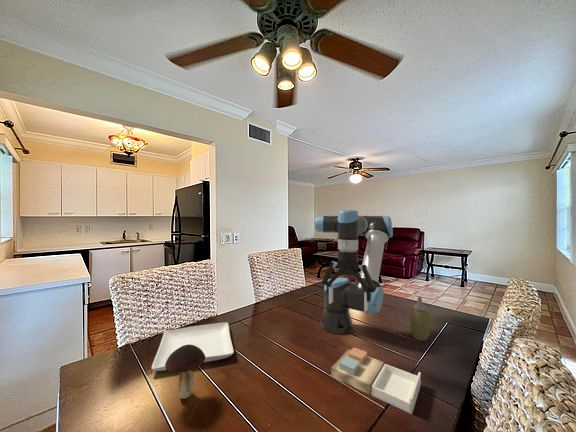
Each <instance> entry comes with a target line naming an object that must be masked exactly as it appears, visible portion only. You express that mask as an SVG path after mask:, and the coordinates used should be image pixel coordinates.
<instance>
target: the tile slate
mask: <svg viewBox="0 0 576 432" xmlns="http://www.w3.org/2000/svg"><path fill="white" fill-rule="evenodd" d="M359 368H360V361H357V360H355V359H352V358H350V357H347V356H345V357H344V359H343V360H342V361H341V362H340V363H339V369H341V370H343V371H345V372H347V373H350V374H352V375H355V373H356V372H357V371H358V369H359Z"/></svg>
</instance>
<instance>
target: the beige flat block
mask: <svg viewBox="0 0 576 432" xmlns="http://www.w3.org/2000/svg"><path fill="white" fill-rule="evenodd" d="M351 350H352V349H349V348H348V349H347V350H346V351H345V353H343V355H342V356H341V357H340V358H338V360H336V362H335V363H334V364H333V365H332V366H331V367H330V368H331V369H330V371H331V373H330V376H331V378H333V379H336V380H338V381H340V382H342V383H344V384H346V385H348V386H351V387H353V388H355V389H357V390H359V391H361V392H363V393H365V394H368V395H371V386H372V384H373V383H374V381H375V379H376V378H377V376H378V374H379V373H380V371H381V369H382V367H383V366H384V364H385V363H384V361H382V360H380V359H377V358H373V357H371V356H369V355H367V358H366V360H365V361H364V363H363V364H360V368H359V369H358V371H357V372H356V373H355V375H352V374H350V373H347V372H345V371H343V370H341V369H339V363H340V362H341V361H342V360H343V359H344V357H345V356H347V357H348V353H349V352H350V351H351Z"/></svg>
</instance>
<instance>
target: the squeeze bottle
mask: <svg viewBox="0 0 576 432" xmlns="http://www.w3.org/2000/svg"><path fill="white" fill-rule="evenodd" d="M410 312H411V313H410V322H409V330H410V333H411V337H412V338H413V339H414V340H416V341H419V342H420V341H422V342H427V341H428V340H429V337H430V335H431V323H430V313H429V312H428V311H427V307H426V305H424V303H423V298H422V297H421V296H418V297H417V301H416V303H415V304H413V308H412V309H411V311H410Z"/></svg>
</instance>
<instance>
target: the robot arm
mask: <svg viewBox="0 0 576 432" xmlns="http://www.w3.org/2000/svg"><path fill="white" fill-rule="evenodd" d="M314 229H315V231H316V232H318V233H324V234H325V233H327V234H330V233H332V234H337V249H338V251H337V262H336V261H334V260H331V261H330V263H329V268H328V269H327V270H326V271H327V272H326V273H325V276H324V278H323V280H322V281H321V284H322V285H324V289H323V290H324V291H323V292H324V293H323V294H324V311H323V313H322V317H321V320H320V326H321V329H323V330H324V331H325V332H327V333H331V334H338V335H340V334H341V335H342V334H343V335H344V334H348V333H350V332H352V330H353V320H352V316H351V314H350V310H352V311H353V310H355V311H359V312H363V313H365V314H377V313H379V312H380V310H381V308H382V306H383V302H384V289H383V288H382V285H381V283H380V282H379V277H380V273H381V267H382V260H383V255H384V248H385V243H387V242H388V241H389V238H393V236H394V234H393V233H394V232H393V231H394V229H393V222H392V218H391V217H390V216H389V215H359V211H358V210H354V209H351V210H350V209H344V210H339V211H338V214H337V215H318V216H316V217H315V218H314ZM359 236H360V237H361V236H363V237H365V238H366V239H367V241H366V246H365V250H364V255H363V260H362V263H361V264H359V251H358V250H359ZM336 267H337V268H338V270H337V271H336V273H335V274H334V275H333V276H332V277H331V275H332V273H333V271H334V269H335V268H336ZM359 269H360V272H359ZM341 275H344V276H350V277H352V276H353V278H355V281H354V283H353V282H350V281H349V278H347V277H339V276H341ZM330 277H331V278H330Z"/></svg>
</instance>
